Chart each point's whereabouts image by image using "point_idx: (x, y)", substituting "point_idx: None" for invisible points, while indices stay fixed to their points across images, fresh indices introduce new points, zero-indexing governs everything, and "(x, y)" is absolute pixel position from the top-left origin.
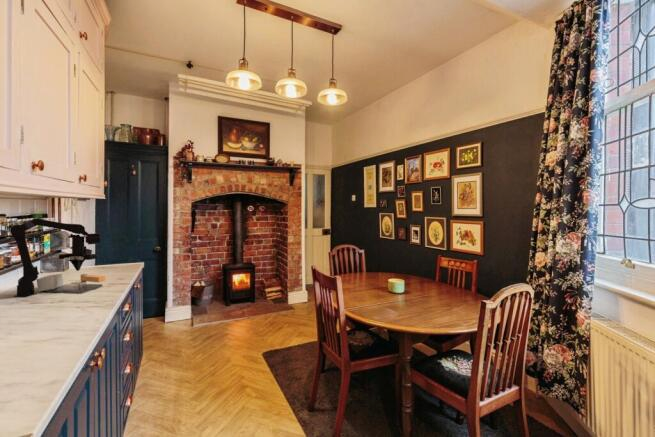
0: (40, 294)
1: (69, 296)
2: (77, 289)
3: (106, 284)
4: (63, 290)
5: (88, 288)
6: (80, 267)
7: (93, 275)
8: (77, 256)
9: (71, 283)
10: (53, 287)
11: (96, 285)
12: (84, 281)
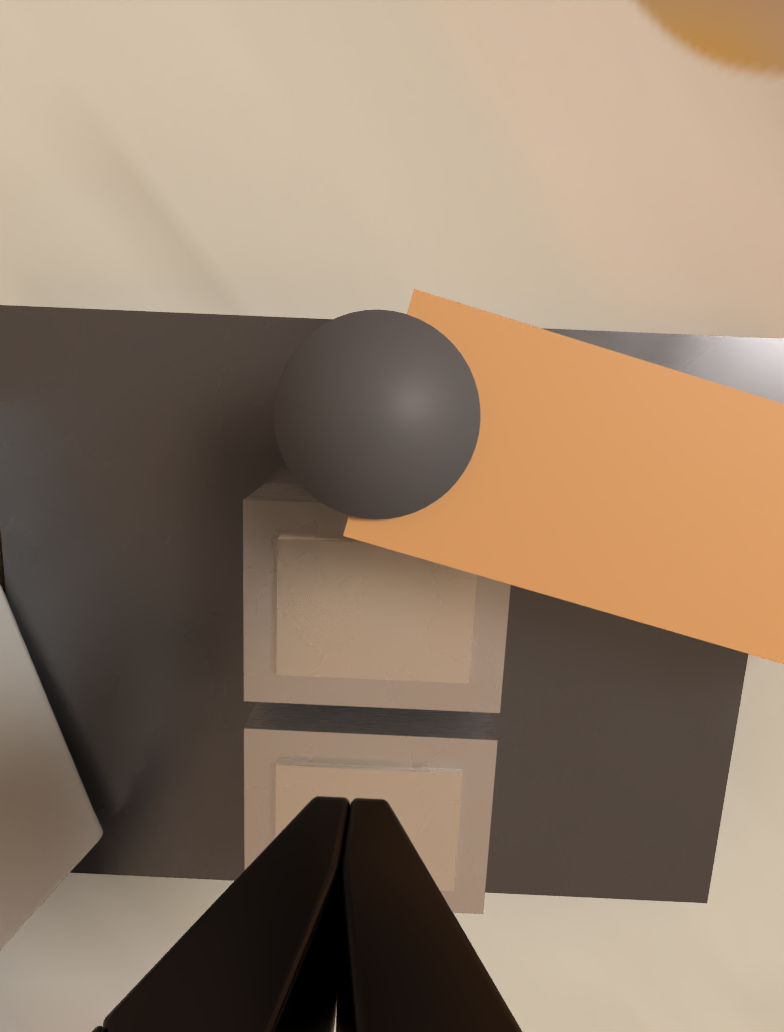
0: (58, 940)
1: (597, 1021)
2: (531, 785)
3: (770, 152)
4: None
5: (695, 704)
6: (440, 901)
7: (768, 464)
8: None
9: (292, 703)
10: (83, 857)
11: None
12: None
